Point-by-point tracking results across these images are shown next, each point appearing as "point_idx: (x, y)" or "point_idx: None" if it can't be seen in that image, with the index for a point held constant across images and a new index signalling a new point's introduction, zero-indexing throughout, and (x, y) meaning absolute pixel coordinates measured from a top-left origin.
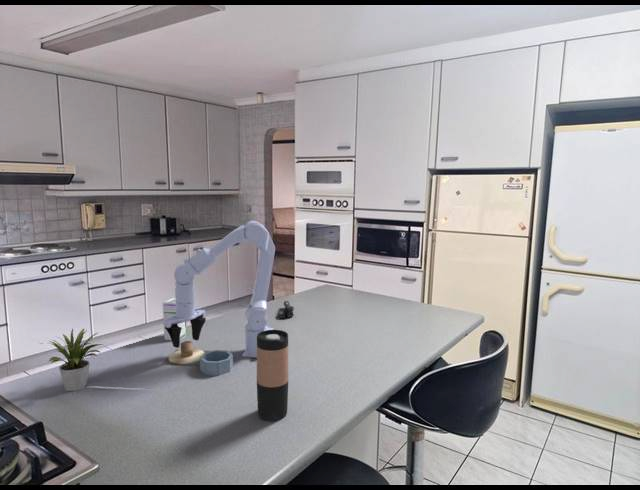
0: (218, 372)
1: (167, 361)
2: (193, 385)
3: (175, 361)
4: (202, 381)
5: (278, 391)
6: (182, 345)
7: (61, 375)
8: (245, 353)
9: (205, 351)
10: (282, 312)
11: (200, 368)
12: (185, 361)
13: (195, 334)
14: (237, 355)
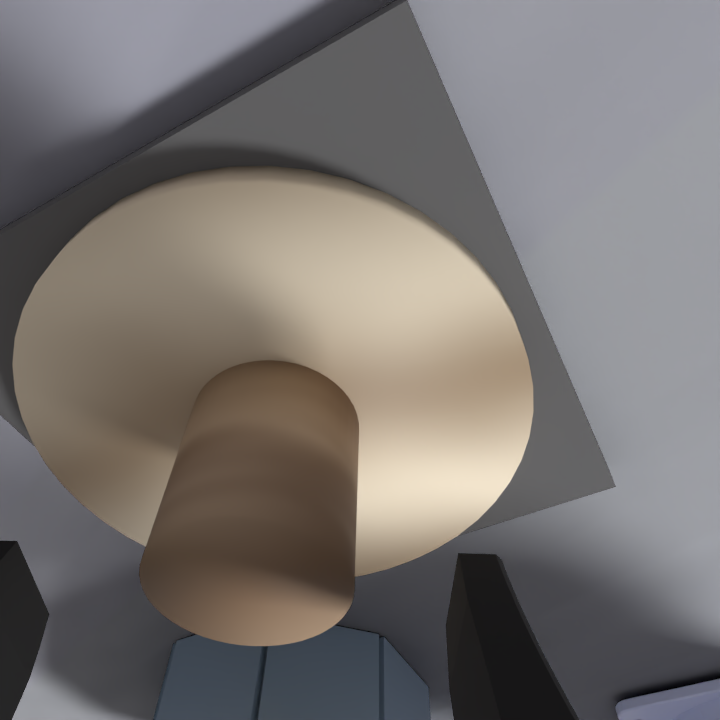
0: None
1: (9, 300)
2: (19, 706)
3: (47, 458)
4: (101, 711)
5: None
6: (145, 587)
7: None
8: (681, 709)
9: (567, 447)
10: None
11: (162, 687)
12: (145, 529)
13: (465, 712)
14: (645, 657)
